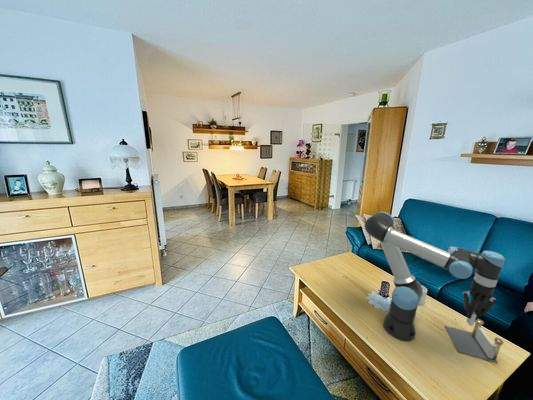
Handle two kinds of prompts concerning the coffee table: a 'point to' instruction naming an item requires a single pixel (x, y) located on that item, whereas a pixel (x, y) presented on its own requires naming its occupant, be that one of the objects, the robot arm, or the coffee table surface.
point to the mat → (467, 344)
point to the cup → (423, 296)
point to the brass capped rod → (498, 343)
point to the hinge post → (477, 324)
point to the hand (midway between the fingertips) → (469, 323)
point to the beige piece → (485, 342)
